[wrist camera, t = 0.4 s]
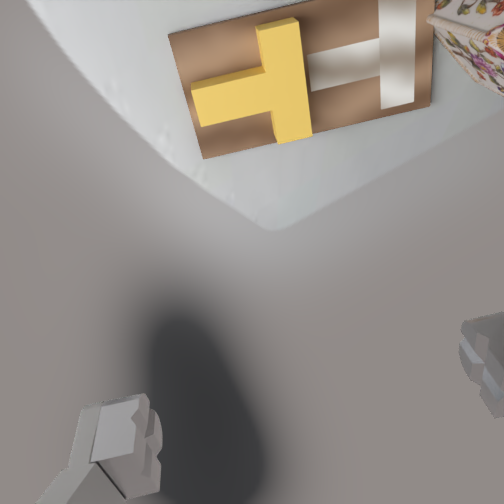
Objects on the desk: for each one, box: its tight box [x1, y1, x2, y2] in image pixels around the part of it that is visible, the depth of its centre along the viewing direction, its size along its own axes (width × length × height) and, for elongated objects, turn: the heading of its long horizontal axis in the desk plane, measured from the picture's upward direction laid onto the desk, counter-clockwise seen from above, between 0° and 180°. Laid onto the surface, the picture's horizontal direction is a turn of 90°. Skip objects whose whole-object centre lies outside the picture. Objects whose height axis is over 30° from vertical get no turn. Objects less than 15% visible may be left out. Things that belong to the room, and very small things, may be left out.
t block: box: [191, 17, 312, 144], centre depth 48 cm, size 12×12×3 cm
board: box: [168, 0, 435, 159], centre depth 50 cm, size 14×28×1 cm, turn 101°
